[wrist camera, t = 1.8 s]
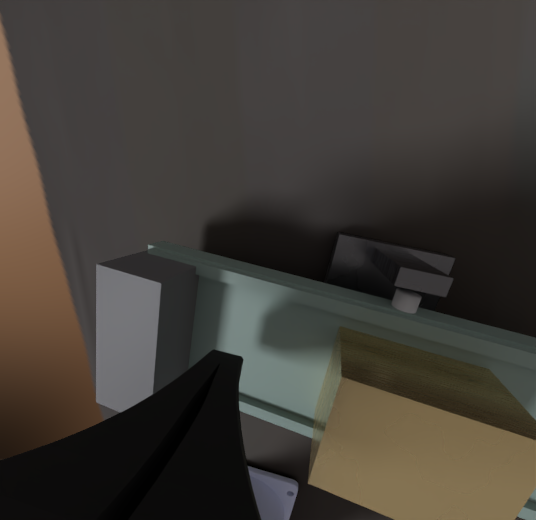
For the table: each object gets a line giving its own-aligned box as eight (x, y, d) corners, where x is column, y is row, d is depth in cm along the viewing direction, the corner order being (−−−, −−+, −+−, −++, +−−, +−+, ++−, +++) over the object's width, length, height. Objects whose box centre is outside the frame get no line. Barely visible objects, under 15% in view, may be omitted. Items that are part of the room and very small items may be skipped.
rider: (445, 456, 12) (488, 558, 8) (314, 409, 13) (307, 483, 9) (489, 369, 10) (561, 448, 7) (339, 325, 11) (341, 377, 8)
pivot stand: (379, 421, 17) (406, 503, 13) (293, 398, 18) (289, 468, 13) (445, 253, 14) (512, 282, 10) (337, 231, 15) (351, 248, 10)
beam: (630, 542, 12) (783, 720, 8) (153, 365, 16) (96, 418, 12) (773, 380, 9) (1107, 517, 5) (164, 228, 14) (96, 240, 10)
